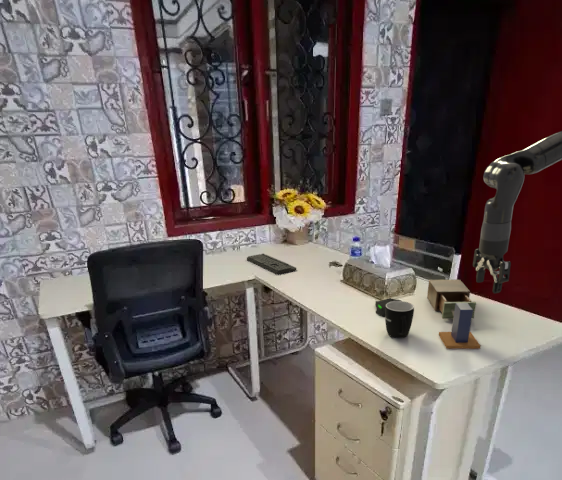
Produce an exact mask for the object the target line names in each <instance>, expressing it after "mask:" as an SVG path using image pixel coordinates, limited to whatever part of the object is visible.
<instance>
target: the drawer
mask: <svg viewBox="0 0 562 480" xmlns="http://www.w3.org/2000/svg"><path fill="white" fill-rule="evenodd" d="M456 303H468V304H469V305H470V307H471V308H472V309H473V313H472V319H475V314H476V313H475V311H476V307H477V302H476V301H472V299H471V298H470V296H469V297H468V296H467V295H466V294H465V293H458V294H439V298H438V308H439V309H440V311H439V312H441V314H442V315H441V318H442V319H443V320H448V319H450V320H453V318H454V311H455V304H456Z"/></svg>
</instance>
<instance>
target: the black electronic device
mask: <svg viewBox="0 0 562 480" xmlns="http://www.w3.org/2000/svg"><path fill="white" fill-rule="evenodd" d="M392 301H402V300H401V299H396V298H392V297H389V298H385V299H382V300H375V301H374V302H375V303H374V305H375V308H376V310H375V313H376V315H377V316H378V317H382V318H385V307H386V304H387V303H389V302H392Z"/></svg>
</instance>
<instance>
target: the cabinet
mask: <svg viewBox="0 0 562 480" xmlns="http://www.w3.org/2000/svg"><path fill="white" fill-rule="evenodd" d="M458 293H465V294H466V295H467V296H468V297H469V298H470V297H471V291H470V289H468V287H467V286H466V285H465V284H464V282H463V281H461V279H429V280H428V285H427V293H426V294H427V296H426V299H427V301H428V302H429V304H430V306H431V308H432V309H433V311H434V312H441V311H440V309H439V308H438V298H439V294H458Z"/></svg>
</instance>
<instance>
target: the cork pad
mask: <svg viewBox="0 0 562 480" xmlns="http://www.w3.org/2000/svg"><path fill="white" fill-rule="evenodd" d="M451 332H452V331H438V336H439V339H440V340H441V342H442V343H443V345H444V348H445V349H446V350H447V349H449V350H450V349H452V350H453V349H456V350H457V349H458V350H461V349H462V350H463V349H464V350H465V349H467V350H468V349H469V350H471V349H473V350H474V349H475V350H478V349H479V350H480V349H481V344H480V343H479V341H478V340H477V339H476V337H475V336H474V334H473V333H472V332H471V331H469V337H468V342H467V343H456V342H455V340H454V339H453V337H452V336H451Z"/></svg>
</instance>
